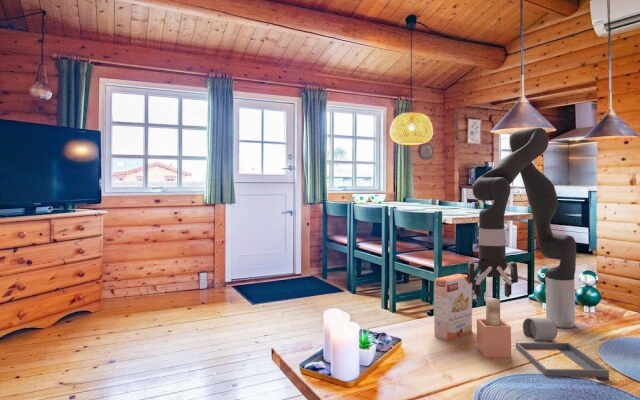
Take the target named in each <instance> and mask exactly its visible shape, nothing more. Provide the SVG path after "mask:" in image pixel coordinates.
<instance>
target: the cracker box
mask: <svg viewBox="0 0 640 400" xmlns="http://www.w3.org/2000/svg"><path fill="white" fill-rule="evenodd" d="M467 275H468V274H464V273H463V274H462V273H456V274H451V275H446V276H440V277H436V278H434V280H433V282H434V283H433V285H434V286H433V287H434V288H433V289H434V291H433V292H434V293H433V296H434V297H433V298H434V302H433V303H434V310H433V311H434V313H433V314H434V317H433V318H434V337H435V338H438V339H441V340H443V341H447V342H448V341H451V340H454V339H456V338H460V337H463V336H465V335H468V334H470V333H472V332H473V312H472V311H473V283H470V282H469V281H468V280H467Z"/></svg>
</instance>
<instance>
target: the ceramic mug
mask: <svg viewBox="0 0 640 400" xmlns="http://www.w3.org/2000/svg"><path fill="white" fill-rule="evenodd" d="M522 331H523V335H524V337H529V336H532V337H533V338H534V339H533V342H537V341H546V342H549V341H553V340H555V339H556V338H557V336H558V327H556V324H555V323H554V322H553V321H552V320H551V319H548V318H546V317H526V318H525V319H524V320H523V322H522Z"/></svg>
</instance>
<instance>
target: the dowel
mask: <svg viewBox="0 0 640 400" xmlns="http://www.w3.org/2000/svg"><path fill="white" fill-rule="evenodd" d="M485 319H486V326H500V319H501V300H500V299H499V298H493V297H487V298H485Z"/></svg>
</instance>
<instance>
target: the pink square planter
mask: <svg viewBox="0 0 640 400" xmlns="http://www.w3.org/2000/svg"><path fill="white" fill-rule="evenodd" d="M476 348H477V349H478V350H479V352H480V353H481V354H482V355H483V357H484V358H512V327H511V325H510V324H508V323H507V322H506V321H505V320H503V319H502V318H500V326H486V318H476Z"/></svg>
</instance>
